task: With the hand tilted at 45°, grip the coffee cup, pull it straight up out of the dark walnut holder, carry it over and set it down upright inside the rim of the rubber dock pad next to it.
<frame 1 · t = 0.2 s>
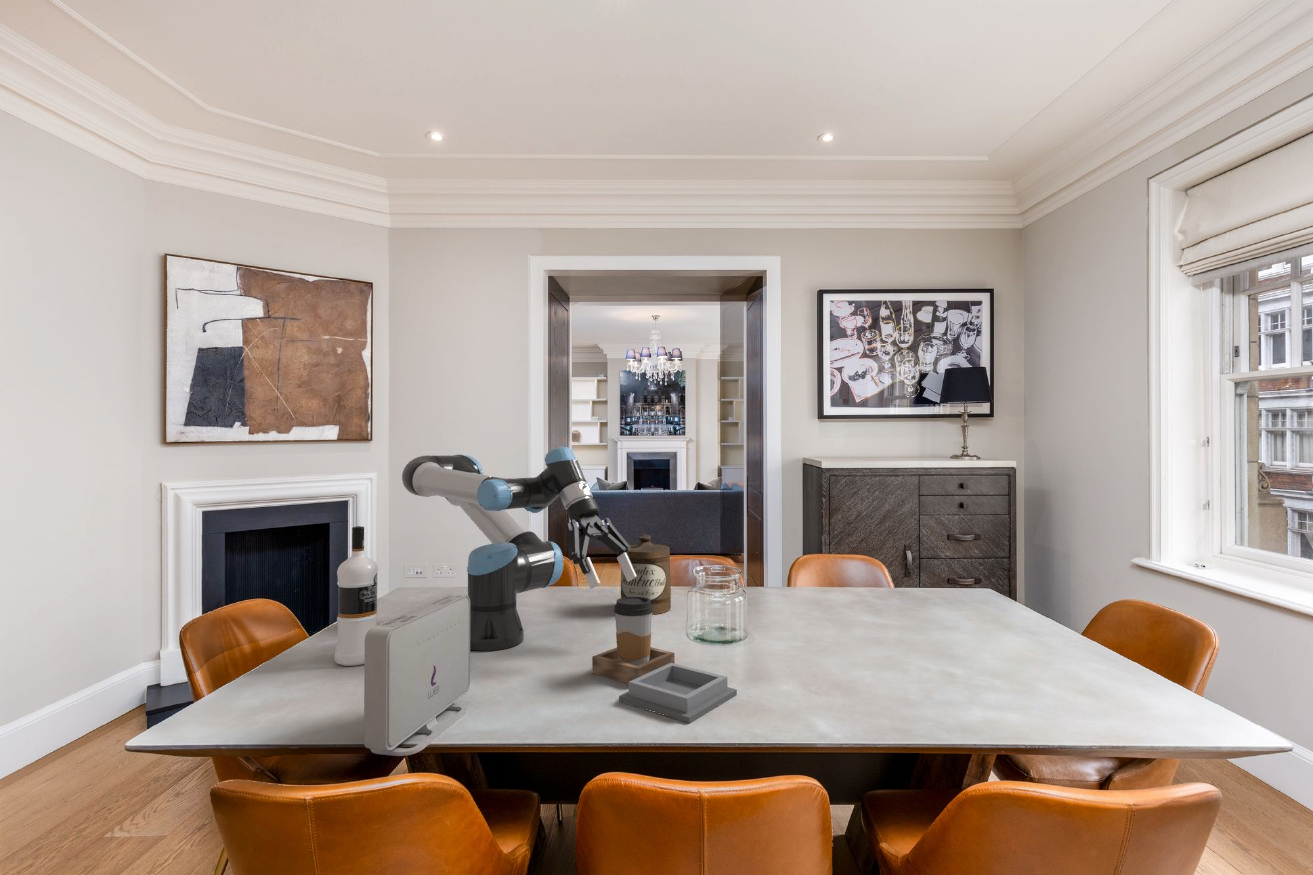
hand: (614, 582, 149), 16 cm above the table, tool tilted 35°, fingers open, 13 cm apart
coffee cup: (633, 672, 135), resting in walnut holder
dock pad: (678, 697, 120), on the table
network device: (421, 729, 107), on the table
vodka: (357, 661, 142), on the table
wooden container: (645, 609, 188), on the table
walnut holder: (633, 671, 135), on the table
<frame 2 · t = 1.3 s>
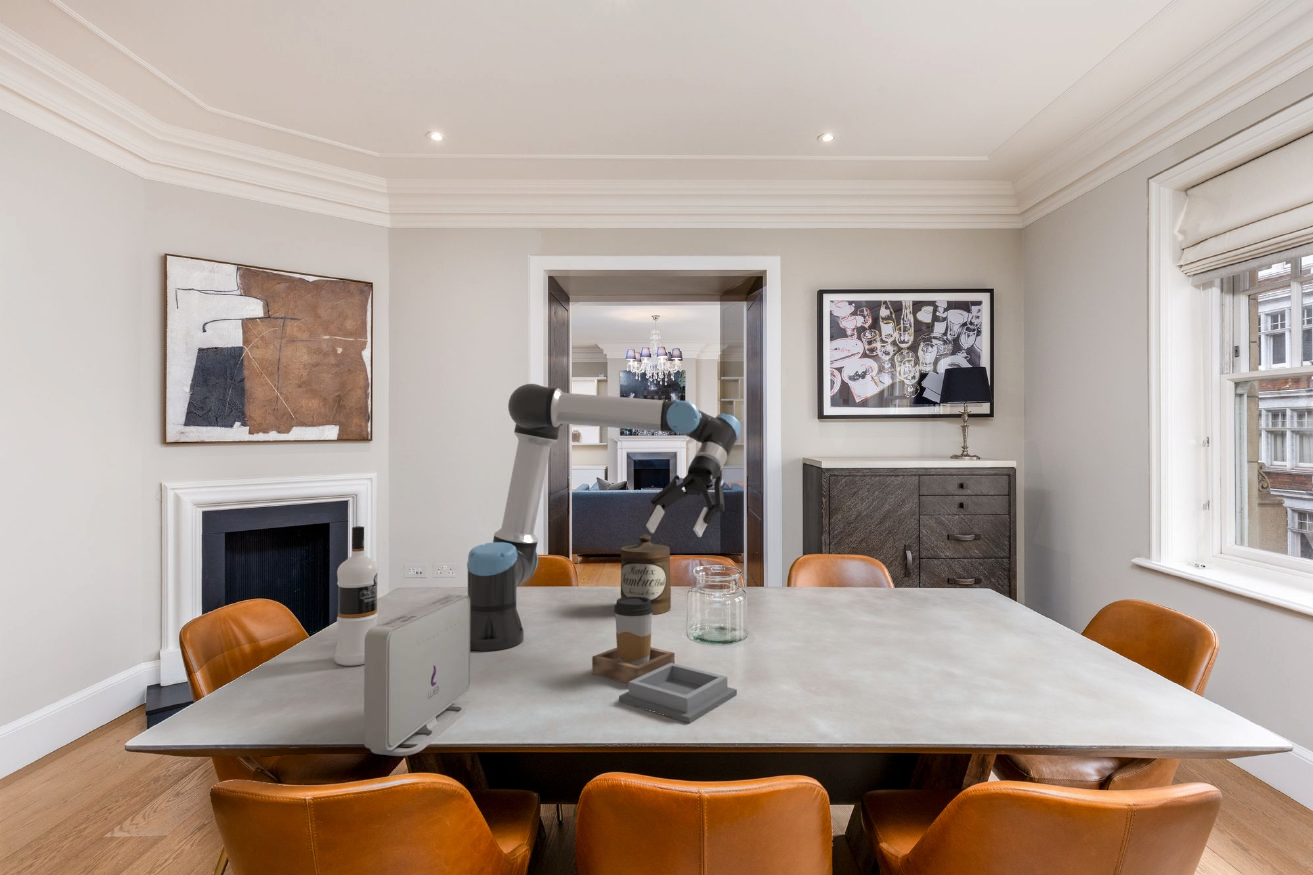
hand: (672, 531, 146), 28 cm above the table, tool tilted 45°, fingers open, 13 cm apart
nothing on the table moved.
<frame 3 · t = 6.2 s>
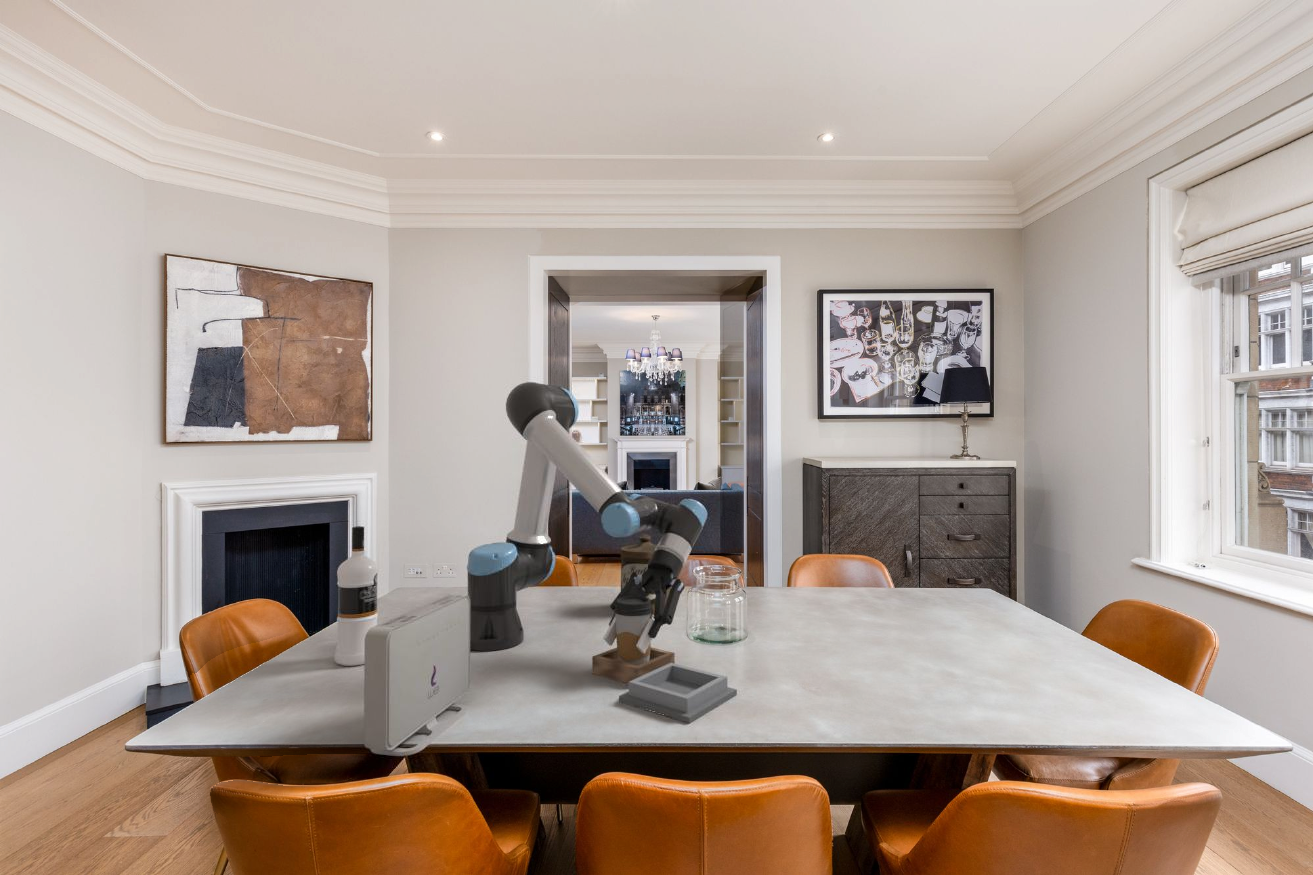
hand: (623, 645, 132), 6 cm above the table, tool tilted 45°, fingers closed on coffee cup, 8 cm apart
coffee cup: (633, 672, 135), resting in walnut holder, touching gripper
everything else where it was.
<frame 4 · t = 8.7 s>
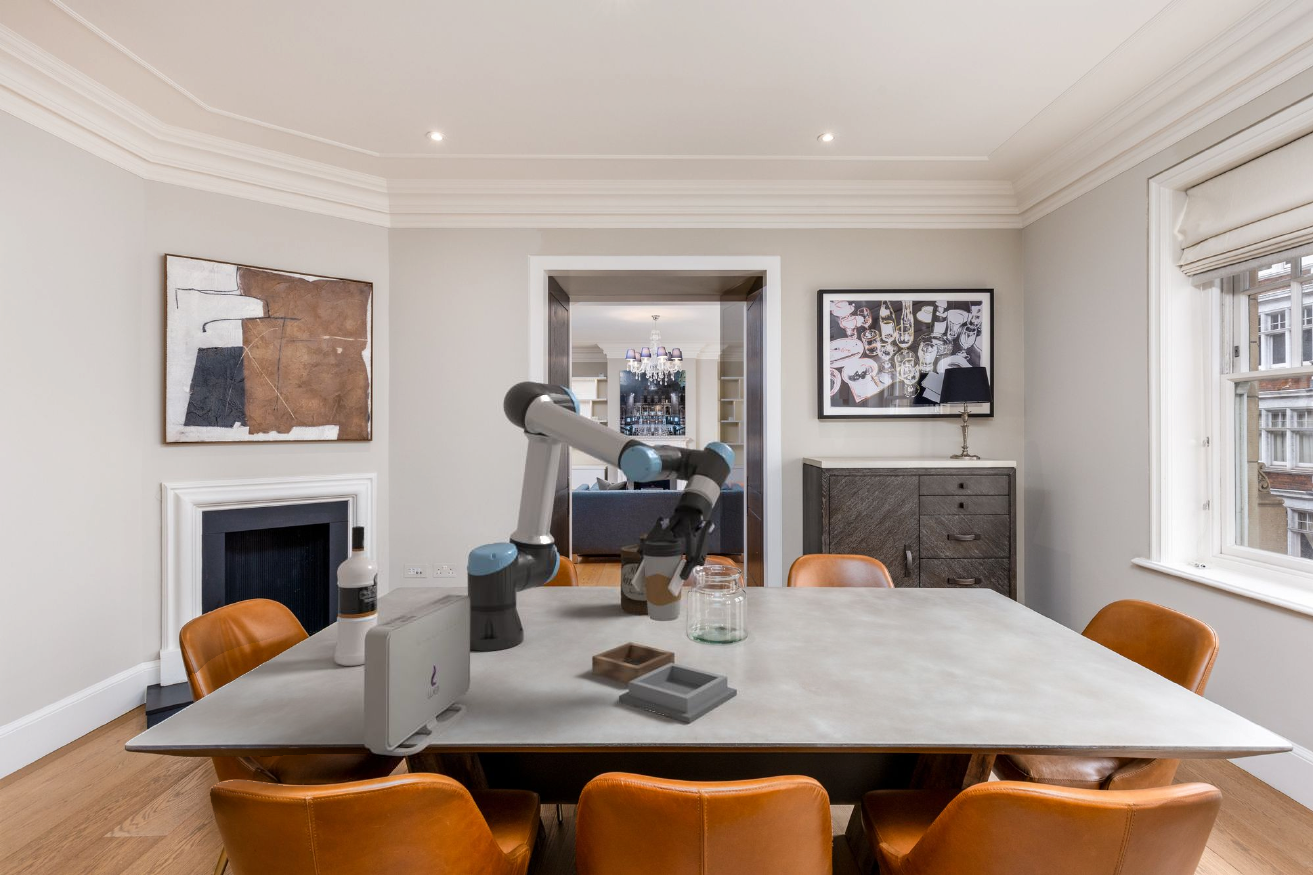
hand: (653, 589, 124), 20 cm above the table, tool tilted 45°, fingers closed on coffee cup, 8 cm apart
coffee cup: (664, 618, 127), point 13 cm above the table, touching gripper
everything else where it was.
when the fingers open (9 cm above the table, at t = 11.5 s): coffee cup drops 1 cm, resting on dock pad.
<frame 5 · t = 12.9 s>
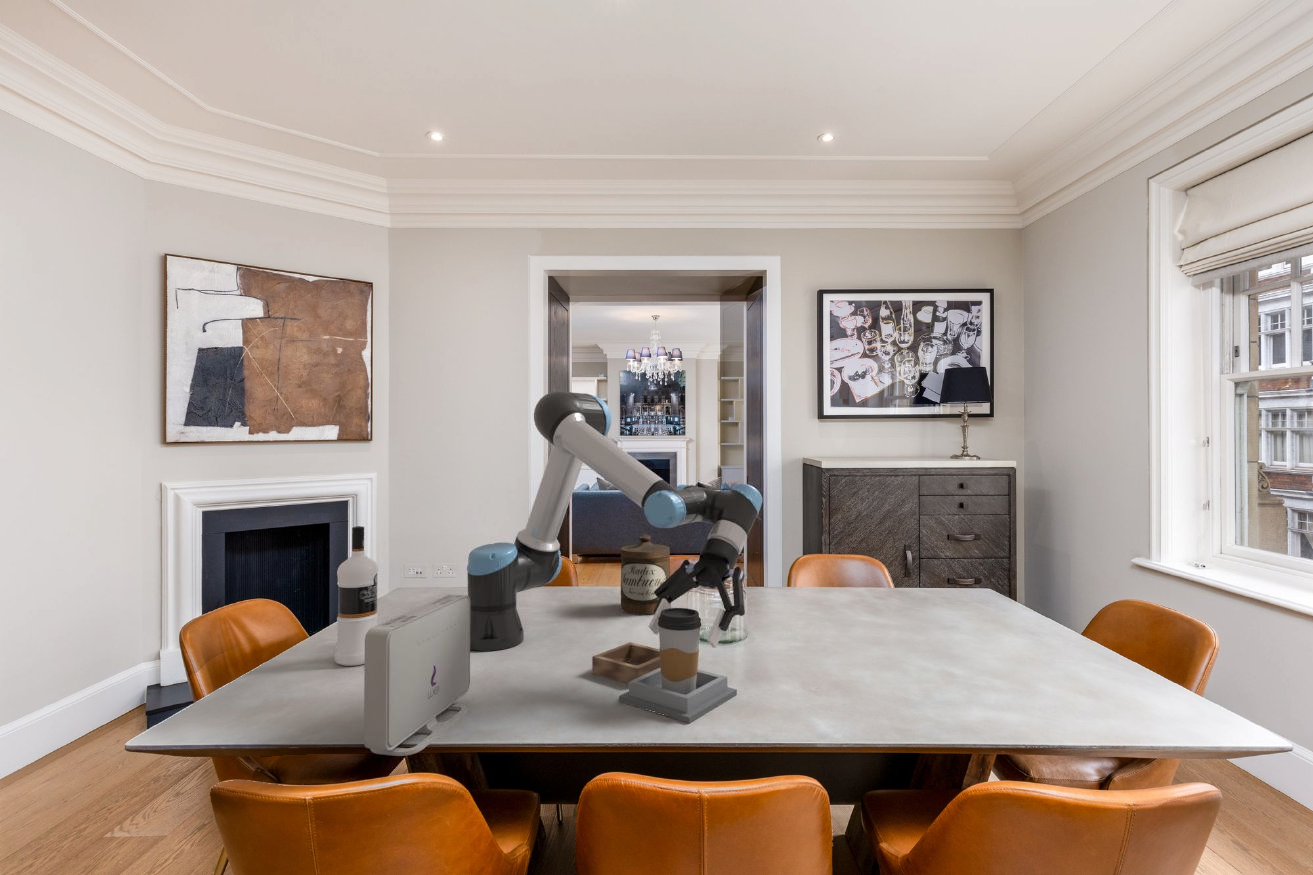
hand: (680, 637, 120), 11 cm above the table, tool tilted 45°, fingers open, 13 cm apart
coffee cup: (678, 693, 120), point 1 cm above the table, touching dock pad
everything else where it was.
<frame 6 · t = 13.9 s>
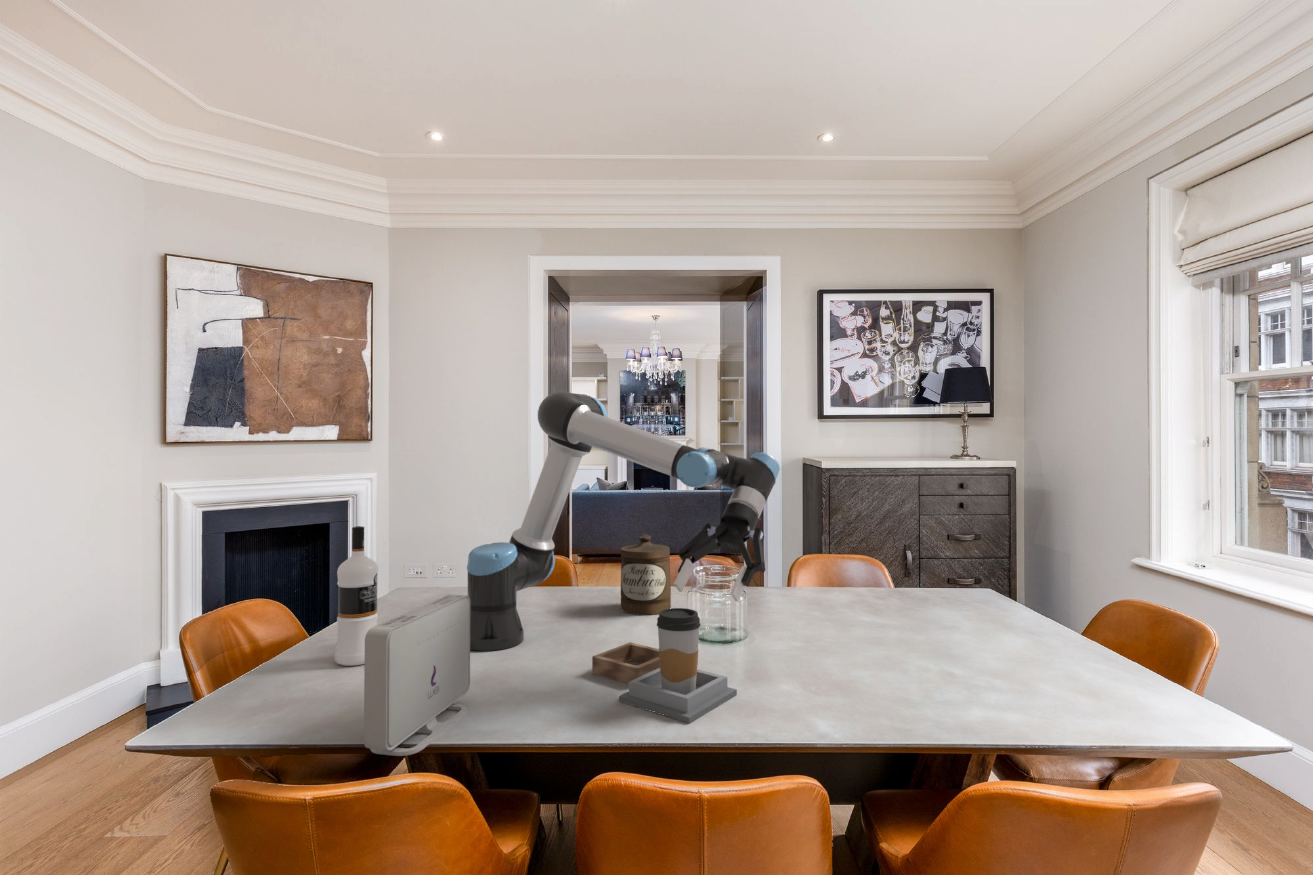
hand: (705, 592, 127), 18 cm above the table, tool tilted 45°, fingers open, 13 cm apart
nothing on the table moved.
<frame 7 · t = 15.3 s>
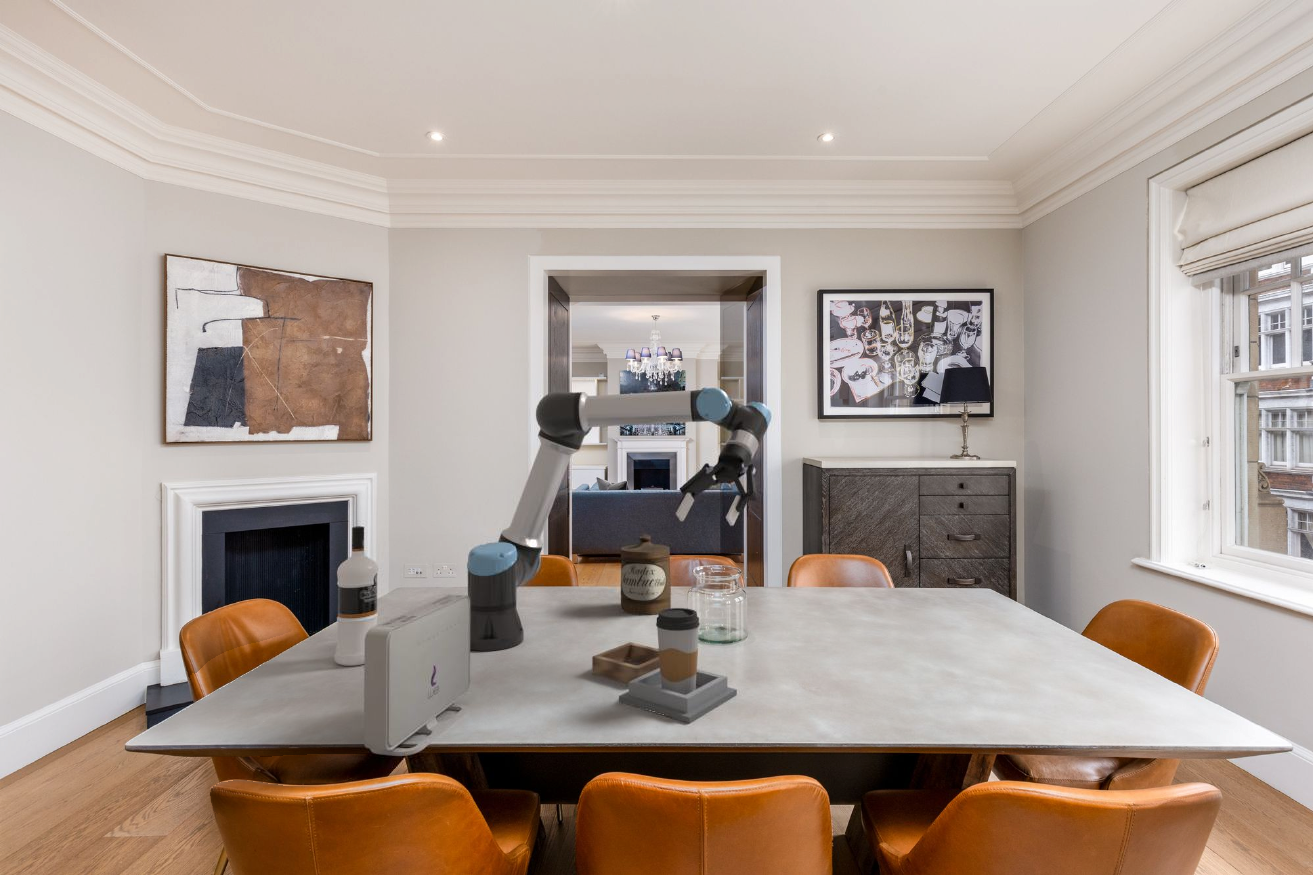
hand: (703, 519, 143), 31 cm above the table, tool tilted 45°, fingers open, 13 cm apart
nothing on the table moved.
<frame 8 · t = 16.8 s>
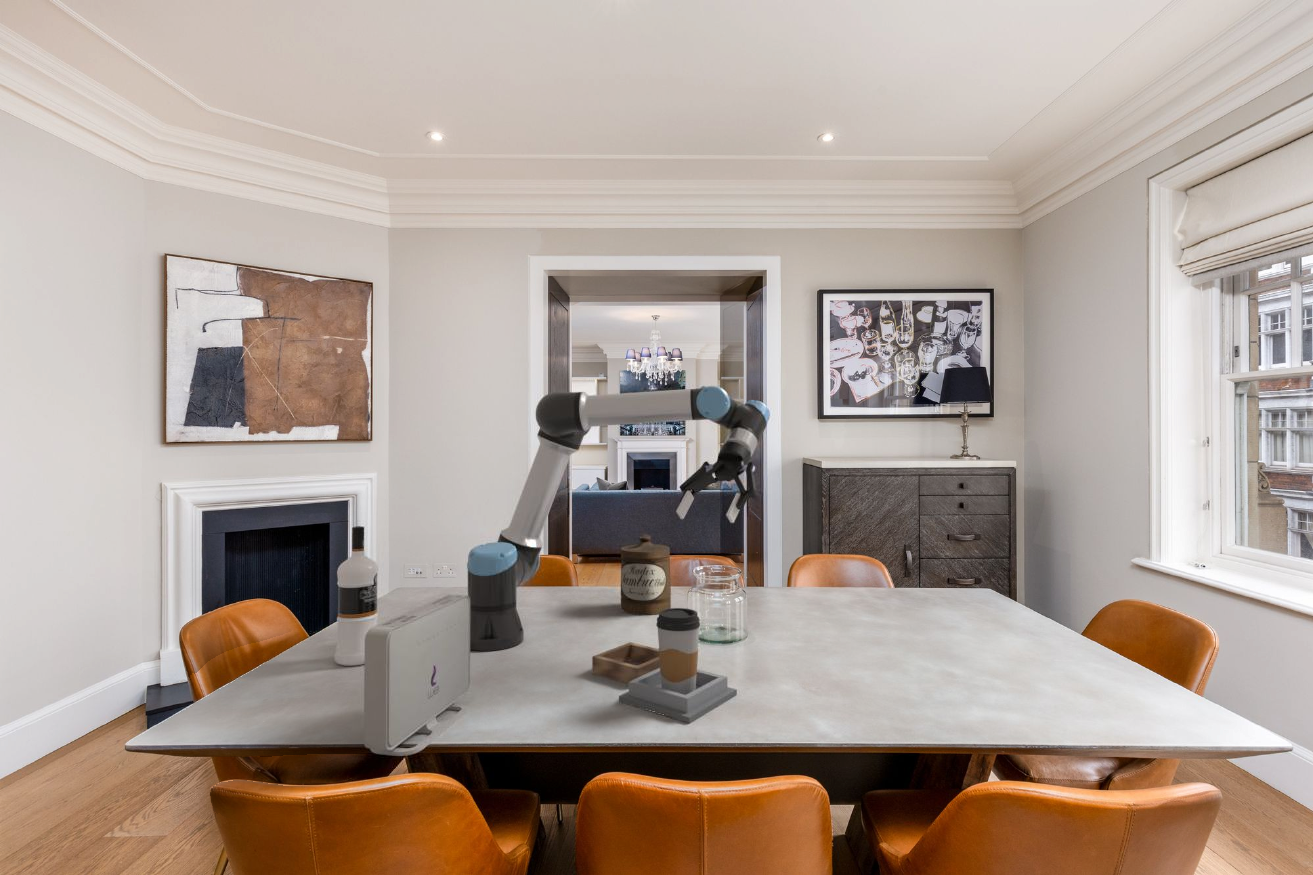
hand: (703, 517, 144), 32 cm above the table, tool tilted 45°, fingers open, 13 cm apart
nothing on the table moved.
at the end: coffee cup 0.1 cm off-centre on the dock pad, point 0.8 cm above the dock pad's base; coffee cup tilted 0°; the gripper is holding nothing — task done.
